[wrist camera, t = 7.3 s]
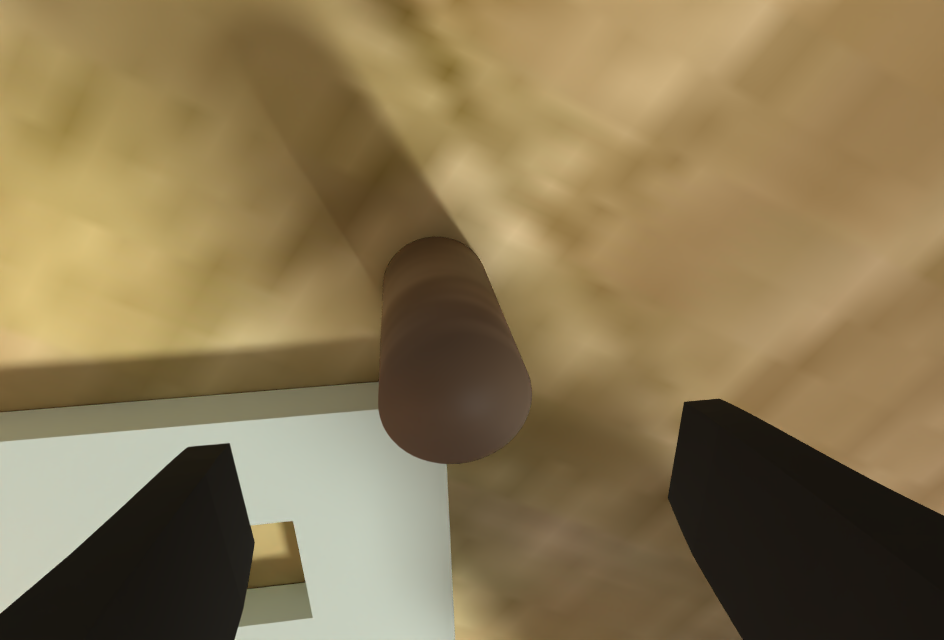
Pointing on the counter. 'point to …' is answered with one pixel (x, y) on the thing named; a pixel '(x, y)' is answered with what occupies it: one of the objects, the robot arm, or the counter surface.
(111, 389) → the counter surface
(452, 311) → the peg
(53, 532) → the socket board
